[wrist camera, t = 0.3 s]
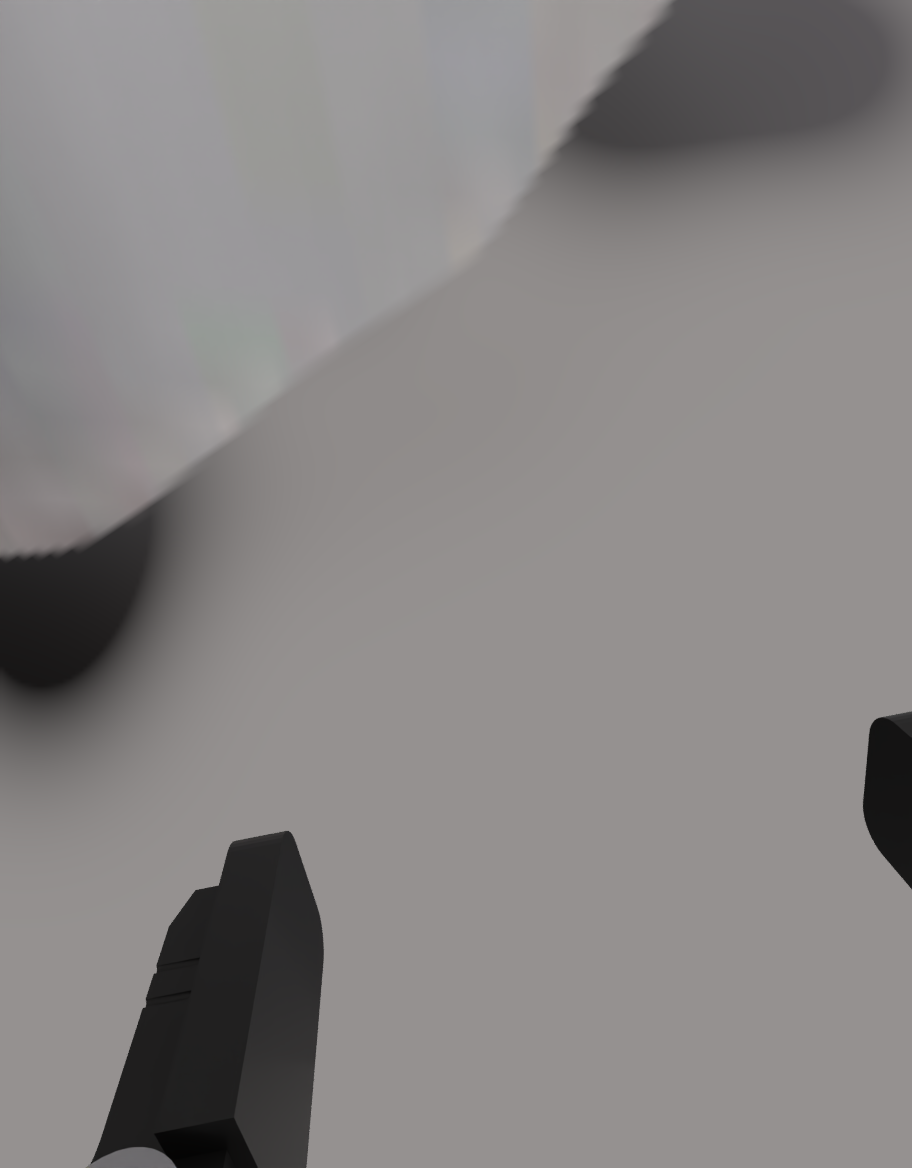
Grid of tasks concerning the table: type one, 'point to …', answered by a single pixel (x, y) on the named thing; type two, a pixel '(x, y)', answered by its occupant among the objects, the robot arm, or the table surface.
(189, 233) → the table surface
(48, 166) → the table surface
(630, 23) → the table surface
